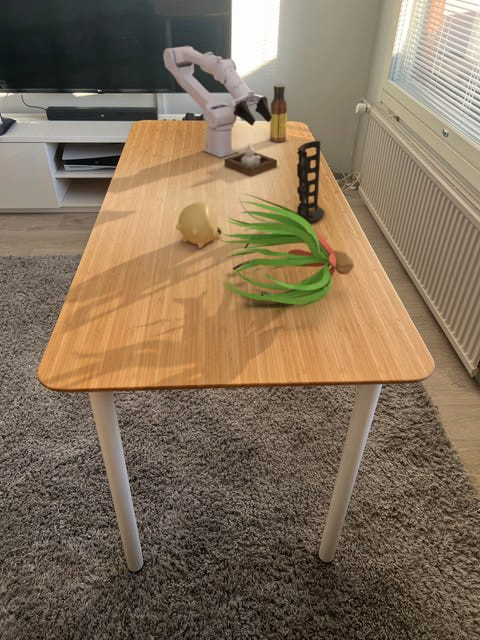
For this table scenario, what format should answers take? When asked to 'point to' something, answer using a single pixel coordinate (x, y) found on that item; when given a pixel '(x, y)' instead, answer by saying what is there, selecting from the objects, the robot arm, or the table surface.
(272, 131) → the sauce bottle
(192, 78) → the robot arm
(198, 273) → the table surface
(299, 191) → the holder
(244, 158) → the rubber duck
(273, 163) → the brown wooden square frame
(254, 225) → the decorative plant
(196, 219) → the toy pig
